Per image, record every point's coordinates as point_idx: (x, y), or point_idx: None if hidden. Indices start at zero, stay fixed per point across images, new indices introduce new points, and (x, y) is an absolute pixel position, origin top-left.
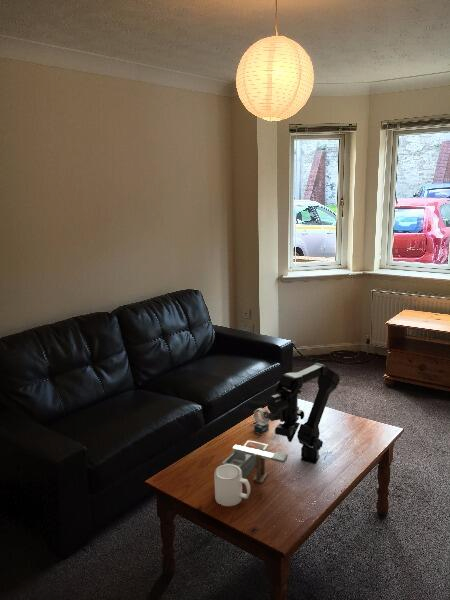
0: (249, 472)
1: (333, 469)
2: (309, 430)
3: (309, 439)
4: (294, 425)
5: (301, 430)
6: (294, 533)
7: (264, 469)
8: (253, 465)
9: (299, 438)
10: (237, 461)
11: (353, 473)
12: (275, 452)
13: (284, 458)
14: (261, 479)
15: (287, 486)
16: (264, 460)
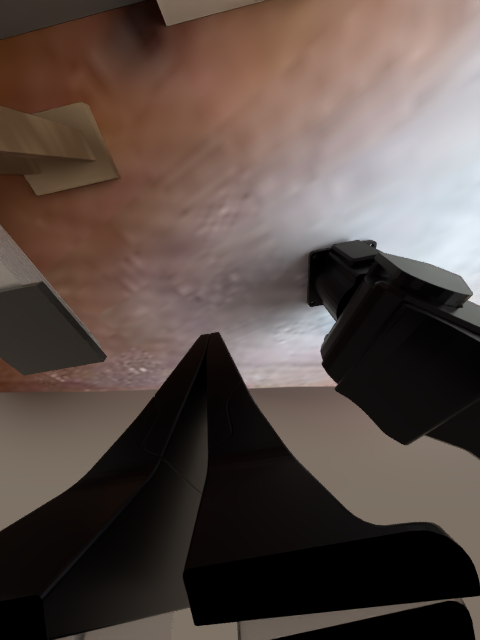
0: (7, 31)
1: (299, 349)
2: (394, 414)
3: (334, 377)
4: (253, 601)
5: (419, 344)
6: (13, 384)
7: (78, 159)
8: (69, 2)
9: (361, 300)
10: None
11: (301, 382)
12: (24, 290)
13: (48, 368)
14: (42, 180)
15: (130, 293)
16: (33, 154)
